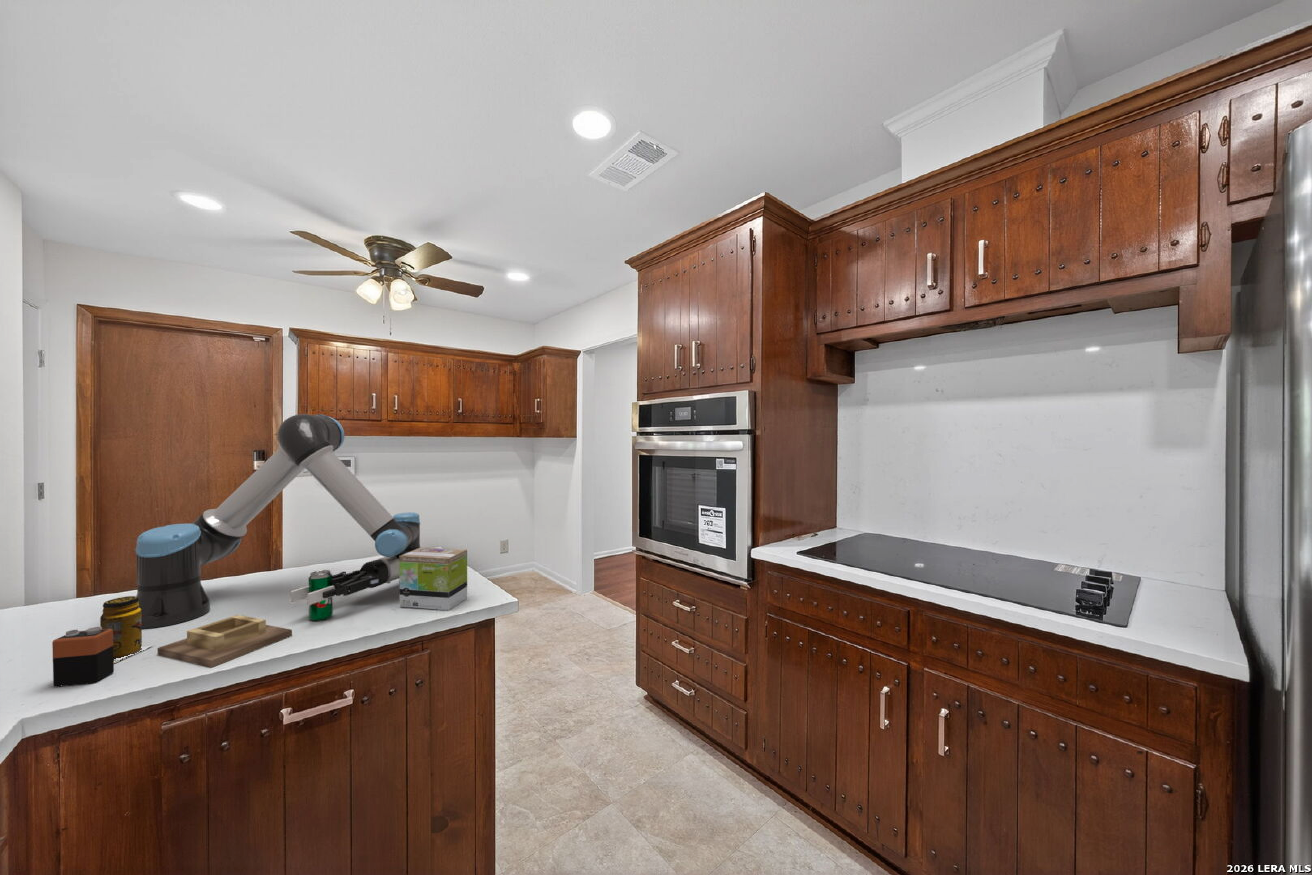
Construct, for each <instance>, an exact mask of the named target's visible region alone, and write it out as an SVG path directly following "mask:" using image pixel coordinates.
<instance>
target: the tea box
mask: <svg viewBox="0 0 1312 875" xmlns="http://www.w3.org/2000/svg"><path fill="white" fill-rule="evenodd" d="M398 586H399V588H398V589H399V596H398V597H399V607H400V608H415V609H425V610H436V609H437V610H436V611H438V610H439V611H446V612H447V611H450V610H452V609H454V608H455V607H456V606H458V605H459V604H460V603H462V602H464V601H465V600H466V599H468V549H466V548H464V549H462V548H461V549H459V548H443V547H423V546H420V548H418V549H415V550H413V551H411V552H408V553H406V554H404V555H401V556H399V584H398ZM451 608H452V609H451Z"/></svg>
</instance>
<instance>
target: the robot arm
mask: <svg viewBox="0 0 1312 875" xmlns="http://www.w3.org/2000/svg"><path fill="white" fill-rule="evenodd" d="M344 429H345V428H343V426H342V424H341V423H340V421H338V420H336V419H335V418H333V417H331V416H328V415H324V414H307V413H306V414H305V413H303V414H302V413H300V414H294V415H291V416H289V417H288V418H286V419H285V420H284V421H283V422H281V424H280V425H279V427H278V430H277V441H278V449H277V450H276V451H275V452H274V453H273V454H272V455H270V457H269V458H268V459H267V460H266V461H265V462H264V463H263V464H262V465H261V466H259V467H258V469H257V470H255V471H254V472H253V473H252V474H251V475H250V476H249V477H248V478H247V479H246V480H245V481H244V482H242V484H240V486H239V487H237V489H235V491H234V492H232V493H231V494H230V495H229V496H228V497H227V498H226V499H225V500H224V501H223V502H222V503H221V504H220V505H219V506H218V507H217V508H212V509H211V508H209V509H207V510H205V511H204V512H202V514H200V515H199V517H197V518H196V519H195V520H194V521H193V522H192V523H174V524H167V525H165V526H158V527H154V528H151V529H148V530H146V531H144V532H142V533H141V534H139V536H138V537H137V540H136V547H135V554H136V556H135V557H136V585H137V589H136V590H137V593H136V597H138V599H139V600H138V601H139V608H140V609H141V613H142V615H141V624H142V625H141V626H142V629H152V628H159V627H160V628H161V627H165V626H172V625H176V624H180V623H184V622H188V621H191V620H194V619H196V618H200V617H202V616H204V615H205V614H207V613H209V612H210V611H211V602H210V598H209V597H208V594H207V593H206V591H205V588H204V587H203V585H202V581H201V567H202V566H205V565H207V564H209V563H212V562H215V561H220V560H221V559H223V558H225V557H227V556H229V555H230V554H232V553H233V552H234V551H235V550H236V549H237V548H238V547H239V545H240V544H241V542H242V538H243V537H245V535H246V534H247V533H248V529H247V528H248V527H247V525H248V524H249V523H250V522H252V520H254V518H256V517H257V516H258V515H259V514H260V513H261V512H262V511H263V510H265V508H266V507H267V505H269V504H270V503H271V502H272V501H273V500H274V499H275V498H276V497H277V496H278V495H279V494H280V493H281V492H282V491H284V489H285V488H286V487H287V486H288V485H289V484H290V483H292V481H294V479H296V477H298V476H299V474H300V473H303V471H304V470H305V469H306V470H307V471H308V473H310V475H311V476H313V478H314V479H315V480H316V481H317V482H319V484H320V485H321V486H322V487H323V488H324V489H325V490H326V492H328V494H329V495H331V497H332V498H333V499H334V500H335V501H336V502H337V503H338V504H339V505H340V506H341V507H342V508H343V509H344V510H345V512H346V513H348V515H349V516H350V517H351V518H352V519H353V520H354V521H355V522H356V523H357V524H358V525H359V526H360V527H361V528H362V529H363V531H365V532H366V534H367V535H368V536H369V537H370V538H371V539H372V540H373V541H374V547H375V550H376V552H377V553H378V554H379V555H380V556H382V557H379V558H377V559H374V560H371V561H367V562H365V563H363V565H361V567H360V569H358V570H353V571H352V572H348V573H347V571H341V572H339V573H336V574H332V586H330V587H327V588H324V589H320V590H317V591H314V592H311V593H309V585H307V586H303V587H300V588H297V589H294V590H291V591H290V602H291V603H295V602H298V601H301V600H304V599H306V601H307V604H306V605H308V606H309V605H311V604H314V603H317V602H319V601H322V600H325V599H328V598H331V597H333V598H334V597H335V596H336V597H341V595H342V596H344V597H347V596H349V595H353V594H354V593H358V592H361V591H363V590H366V589H374V588H377V587H379V586H382V585H384V584H390V583H391V582H392V581H396V580H398V579H399V556H401V555H404V554H406V553H408V552H411V551H413V550H415V549H418V548H420V547H421V543H420V542H421V536H420V535H421V533H420V532H421V528H420V527H421V526H420V525H421V521H420V514H419V513H417V512H402V513H401V512H400V513H399V512H398V513H396V514H394V515H393V516H392V514H391V513H390V512H389V511H388V510H387V509H386V508H385V506H384V505H382V503H381V502H380V501H379V500H378V499H377V498H376V497H375V496H374V494H372V493H371V492H370V491H369V489H368V488H366V486H365V485H364V484H363V483H362V482H361V481H360V480H359V479H358V477H357V476H355V474H354V473H353V472H352V471H351V470H350V469H349V467H347V466H346V464H344V462H343V461H341V459H340V458H339V457H338V455H336V453H334V452H335V451H337V450H338V449H340V447H342V445H343V444H344V441H345V438H346V437H345V430H344Z"/></svg>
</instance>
